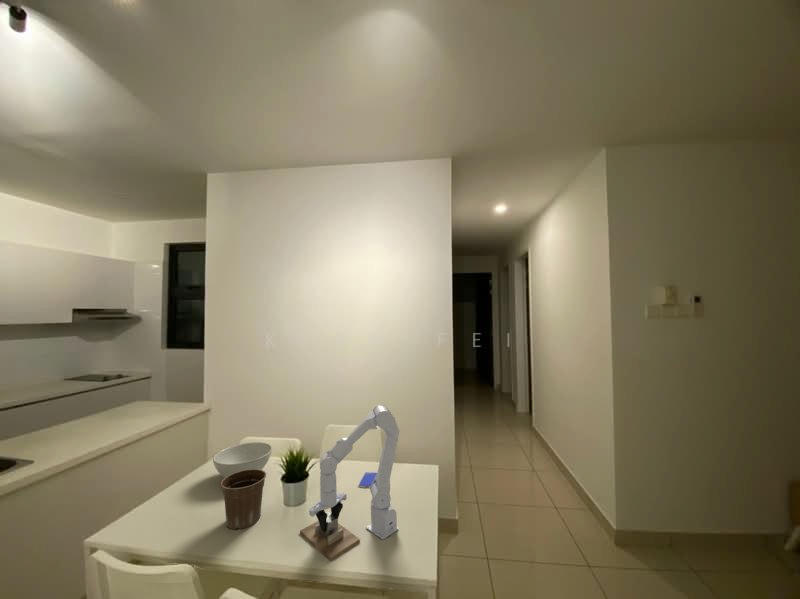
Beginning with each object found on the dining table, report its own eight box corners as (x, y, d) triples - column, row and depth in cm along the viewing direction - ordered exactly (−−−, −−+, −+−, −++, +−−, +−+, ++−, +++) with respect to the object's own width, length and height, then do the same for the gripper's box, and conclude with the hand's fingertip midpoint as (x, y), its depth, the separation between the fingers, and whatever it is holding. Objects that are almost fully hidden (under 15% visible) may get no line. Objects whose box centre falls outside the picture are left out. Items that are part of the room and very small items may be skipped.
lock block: (338, 535, 117) (337, 518, 117) (328, 541, 114) (328, 523, 114) (328, 527, 121) (328, 511, 121) (318, 533, 118) (318, 515, 119)
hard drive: (365, 472, 164) (358, 484, 151) (381, 472, 162) (375, 485, 150) (365, 475, 164) (358, 488, 151) (381, 476, 162) (375, 489, 150)
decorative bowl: (199, 485, 157) (200, 459, 158) (245, 461, 182) (245, 439, 182) (240, 495, 147) (240, 468, 147) (283, 469, 171) (283, 445, 172)
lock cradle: (359, 541, 114) (359, 531, 115) (330, 560, 106) (330, 549, 106) (328, 518, 128) (327, 509, 129) (300, 533, 120) (299, 523, 120)
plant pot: (248, 503, 140) (248, 465, 141) (275, 513, 132) (274, 473, 133) (211, 525, 126) (211, 482, 126) (238, 538, 118) (238, 492, 119)
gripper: (338, 477, 126) (339, 514, 125) (304, 492, 116) (305, 532, 115) (349, 484, 121) (350, 521, 120) (315, 500, 111) (315, 541, 110)
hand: (328, 527), depth 117 cm, fingers closed on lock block, 4 cm apart
